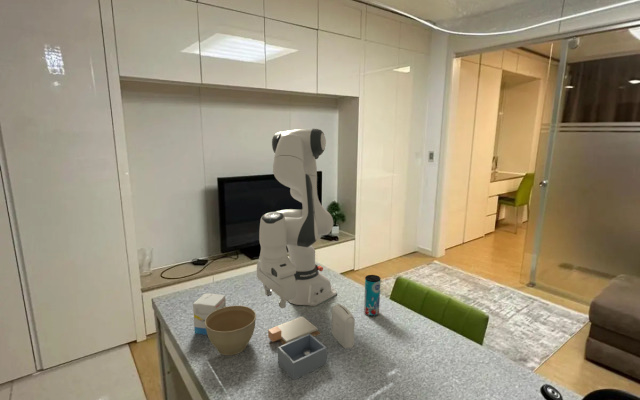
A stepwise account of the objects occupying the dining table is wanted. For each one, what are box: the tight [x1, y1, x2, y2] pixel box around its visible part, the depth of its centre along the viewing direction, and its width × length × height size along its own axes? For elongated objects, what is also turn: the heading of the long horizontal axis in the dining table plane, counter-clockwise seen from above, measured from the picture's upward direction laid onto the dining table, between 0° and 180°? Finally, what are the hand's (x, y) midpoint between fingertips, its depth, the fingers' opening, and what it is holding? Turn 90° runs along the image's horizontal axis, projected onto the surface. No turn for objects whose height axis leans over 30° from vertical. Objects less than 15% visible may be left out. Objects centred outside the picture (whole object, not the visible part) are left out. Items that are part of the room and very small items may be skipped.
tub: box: [277, 334, 328, 381], centre depth 102 cm, size 12×9×6 cm
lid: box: [267, 316, 318, 343], centre depth 117 cm, size 16×10×4 cm, turn 127°
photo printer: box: [331, 303, 356, 349], centre depth 114 cm, size 10×4×12 cm, turn 26°
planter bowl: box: [205, 305, 257, 356], centre depth 110 cm, size 16×16×11 cm
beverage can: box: [363, 274, 381, 317], centre depth 131 cm, size 6×6×15 cm
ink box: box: [192, 292, 227, 336], centre depth 121 cm, size 8×8×12 cm
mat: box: [278, 329, 322, 345], centre depth 119 cm, size 14×12×1 cm
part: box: [303, 348, 312, 357], centre depth 105 cm, size 3×3×2 cm
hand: (275, 300), depth 112 cm, fingers open, 8 cm apart
